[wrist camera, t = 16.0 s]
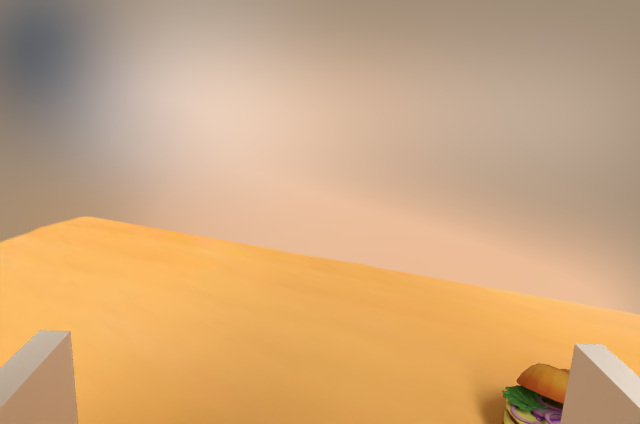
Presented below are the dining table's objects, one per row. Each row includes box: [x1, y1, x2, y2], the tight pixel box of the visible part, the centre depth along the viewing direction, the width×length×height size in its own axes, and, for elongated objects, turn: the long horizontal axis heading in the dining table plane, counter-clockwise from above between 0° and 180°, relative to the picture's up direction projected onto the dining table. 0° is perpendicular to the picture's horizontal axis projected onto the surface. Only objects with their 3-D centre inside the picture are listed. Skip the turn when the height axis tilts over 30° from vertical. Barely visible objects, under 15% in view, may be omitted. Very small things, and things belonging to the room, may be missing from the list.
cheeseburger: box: [502, 364, 570, 424], centre depth 56 cm, size 10×11×10 cm
